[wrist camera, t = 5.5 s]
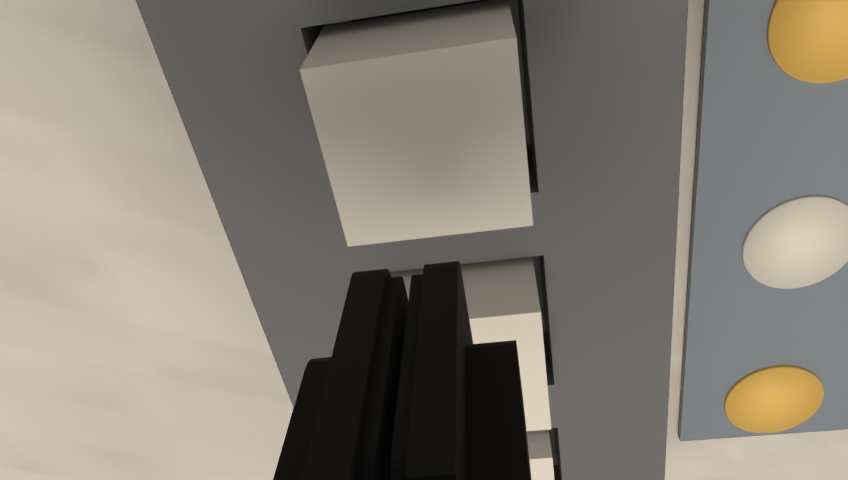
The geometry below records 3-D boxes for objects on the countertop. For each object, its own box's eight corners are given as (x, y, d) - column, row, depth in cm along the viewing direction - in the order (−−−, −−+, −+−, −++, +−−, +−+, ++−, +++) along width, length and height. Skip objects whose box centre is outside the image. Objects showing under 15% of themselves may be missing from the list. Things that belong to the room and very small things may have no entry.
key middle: (381, 261, 20) (370, 329, 18) (530, 244, 20) (540, 311, 17) (407, 368, 22) (400, 440, 20) (540, 356, 22) (551, 429, 19)
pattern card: (708, -48, 17) (714, -44, 16) (989, -92, 16) (1002, -89, 16) (677, 435, 27) (681, 444, 26) (851, 422, 26) (856, 432, 25)
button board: (169, -65, 17) (120, -40, 15) (657, -153, 16) (694, -141, 13) (362, 496, 30) (353, 561, 27) (643, 477, 28) (661, 544, 26)
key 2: (324, 26, 16) (299, 70, 14) (507, -3, 16) (516, 37, 13) (362, 185, 19) (348, 246, 16) (522, 165, 18) (533, 225, 16)
